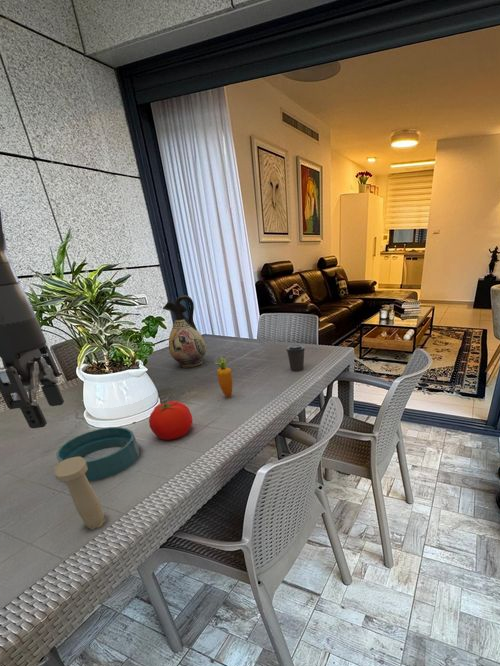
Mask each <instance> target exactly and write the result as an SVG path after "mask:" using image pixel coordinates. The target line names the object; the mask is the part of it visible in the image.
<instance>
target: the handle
mask: <svg viewBox="0 0 500 666" xmlns="http://www.w3.org/2000/svg"><path fill="white" fill-rule="evenodd" d="M86 461H87V460H86V459H85V457H83V458H82V457H72V458H69V459H66V460H63V461H61V462H60V463H59V462H58V464H57V465H55V467H54V469H53V474H54V476H55V478H56V479H57V480H58V481H59V482H60V483H61V482H62V483H65V484H66V486H67V490H68V492H69V494H70V496H71V499H72V502H73V504H74V507H75V510H76V512H77V513H78V515H79V517H80V519H81V520H82V522H83V523H84V525H85V526H86V527H87V528H88V529H90V530H95V529H98V528H101V527H102V526H103V524H104V523H105V522H106V517H105V514H104V511H103V507H102V505H101V502H100V500H99V498H98V496H97V494H96V492H95V490H94V488H93V487H92V485H91V483H90V481H88V479H87V477H86V475H85V472H86V471H87V470H88V468H87V463H86Z"/></svg>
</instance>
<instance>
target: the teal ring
mask: <svg viewBox="0 0 500 666" xmlns="http://www.w3.org/2000/svg"><path fill="white" fill-rule="evenodd" d="M119 447H120V448H119ZM109 448H119V449H118V450H116V451H114V452H111V453H110V454H108V455H105V456H101V457H99V458H95V459H91V460H85V461H86V463H87V468H88V470H87V471H86V472H85V475H86V477H87V479H88V481H89V482H92V481H93V482H94V481H97V480H103V479H106V478H109V477H111V476H114V475H117V474H119V473H120V472H123V471H124V470H125V471H126V469H128V468H129V467H131V466H132V465H133V464H134V463H135V462H136V461H137V459H138V458H139V457H140V454H141V453H140V448H139V446H138V443H137V440H136V436H135V433H134V432H133V430H130V429H129V428H126V427H121V426H111V427H110V426H109V427H103V428H97V429H94V430H90V431H87V432H84V433H81V434H79V435H76V436H74V437H73V438H70V439H69V440H67V441H66V442H65V443H63V444H62V445H61V446H60V447H59V448H58V449H57V451H56V459H57V462H58V464H59V463H60V462H61V461H63V460H66V459H69V458H72V457H82V458H85V457H86V456H88V455H90V454H92V453H94V452H97V451H100V450H103V449H104V450H105V449H109Z"/></svg>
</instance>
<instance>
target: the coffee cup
mask: <svg viewBox="0 0 500 666" xmlns="http://www.w3.org/2000/svg"><path fill="white" fill-rule="evenodd" d="M305 350H306V346H304V345H302V344H301V345H300V344H292V345H289V346H287V347H286V348H285V351H287V357H288V362H289V367H290V371H292V372H301V371H303V370H304V362H305Z"/></svg>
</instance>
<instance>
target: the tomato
mask: <svg viewBox="0 0 500 666" xmlns="http://www.w3.org/2000/svg"><path fill="white" fill-rule="evenodd" d="M148 424H149V428H150V429H151V431H152V433H153V434H154V435H155V436H156V437H157V438H159V439H160V440H161V439H162V440H165V441H168V440H171V441H172V440H175V439H179V438H182V437H184V436H186V435H187V433H188V432H189V431H190V429H191V427H192V425H193V415H192V413H191V410H190V409H189V408H188V406H187V405H186V404H184V403H183V402H181V401H176V400H172V401H168V402H167V401H166V399H163V403H160V404H157V405H156V406H155V407H154V408H153V410H152V412H151V413H150V414H149V418H148Z"/></svg>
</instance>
